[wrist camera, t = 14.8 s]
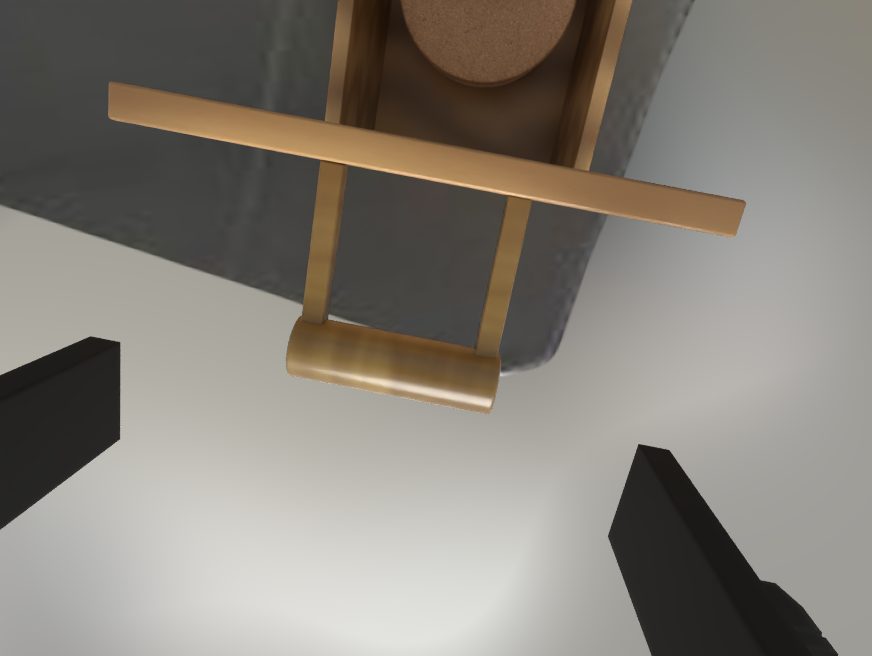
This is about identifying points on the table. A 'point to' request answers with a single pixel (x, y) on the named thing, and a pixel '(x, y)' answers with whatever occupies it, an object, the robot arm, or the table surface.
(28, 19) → the table surface
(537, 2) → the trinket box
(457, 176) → the lid
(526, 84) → the chest
